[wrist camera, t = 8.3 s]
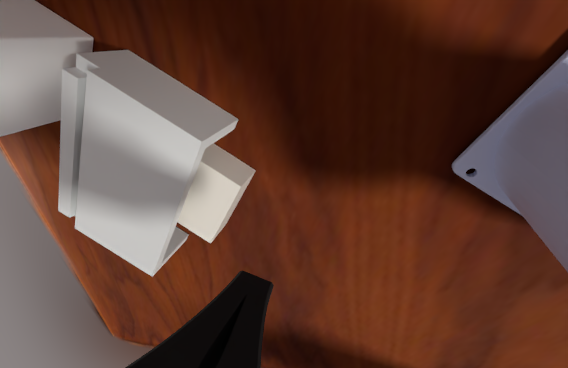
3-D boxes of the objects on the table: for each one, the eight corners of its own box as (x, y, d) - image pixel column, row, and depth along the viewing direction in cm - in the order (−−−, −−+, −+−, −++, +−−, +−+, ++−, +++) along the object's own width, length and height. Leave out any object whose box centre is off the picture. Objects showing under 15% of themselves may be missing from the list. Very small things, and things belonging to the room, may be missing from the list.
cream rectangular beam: (255, 170, 20) (241, 187, 18) (226, 224, 23) (210, 243, 21) (135, 93, 20) (106, 100, 18) (122, 158, 23) (96, 170, 21)
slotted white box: (238, 119, 18) (201, 141, 14) (186, 239, 25) (152, 276, 21) (128, 49, 18) (62, 53, 14) (106, 189, 25) (58, 217, 21)
